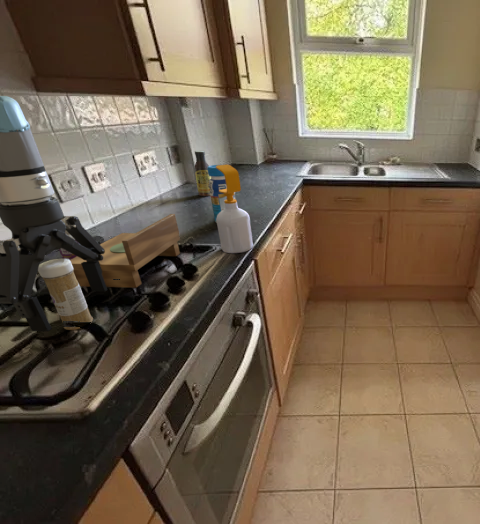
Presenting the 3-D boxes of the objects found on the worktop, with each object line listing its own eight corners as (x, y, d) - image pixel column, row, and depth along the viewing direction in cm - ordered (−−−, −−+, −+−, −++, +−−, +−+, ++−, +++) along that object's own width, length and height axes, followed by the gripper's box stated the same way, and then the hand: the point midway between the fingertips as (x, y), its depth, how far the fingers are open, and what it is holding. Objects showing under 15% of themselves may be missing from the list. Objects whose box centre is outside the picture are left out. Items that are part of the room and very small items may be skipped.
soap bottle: (241, 240, 107) (229, 161, 96) (259, 247, 102) (249, 165, 91) (215, 248, 100) (200, 165, 89) (233, 256, 95) (219, 169, 85)
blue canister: (218, 217, 127) (209, 164, 118) (241, 217, 128) (233, 164, 119) (211, 224, 119) (200, 168, 111) (235, 224, 120) (226, 168, 111)
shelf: (72, 286, 78) (53, 239, 73) (128, 252, 96) (115, 212, 91) (141, 287, 78) (127, 240, 73) (184, 253, 96) (174, 214, 91)
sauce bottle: (199, 197, 153) (190, 152, 144) (198, 194, 157) (189, 150, 149) (214, 195, 156) (207, 151, 147) (213, 192, 160) (205, 150, 152)
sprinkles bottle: (58, 327, 64) (30, 265, 58) (84, 315, 68) (60, 255, 62) (74, 333, 63) (46, 270, 57) (99, 320, 66) (75, 260, 61)
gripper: (-35, 224, 43) (33, 352, 52) (104, 183, 66) (134, 277, 75) (-93, 223, 43) (-14, 351, 52) (66, 183, 66) (101, 277, 75)
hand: (73, 308), depth 63 cm, fingers open, 13 cm apart
